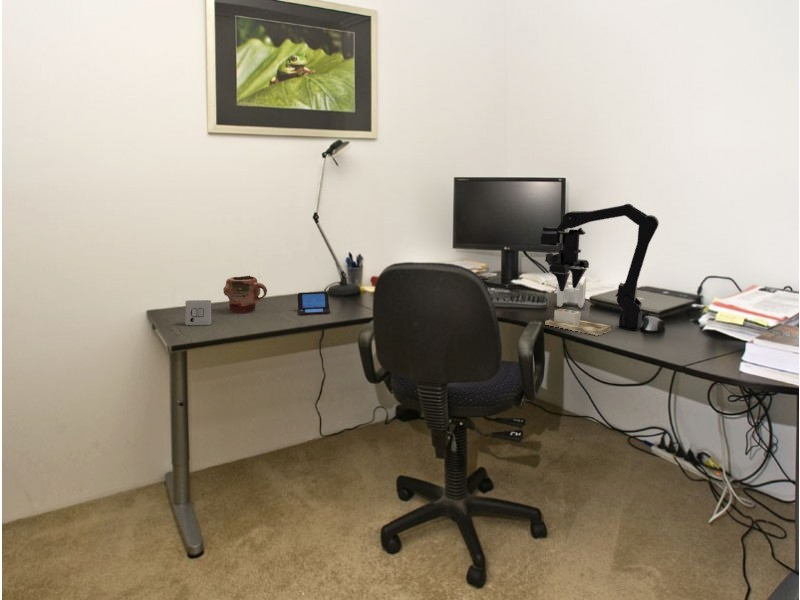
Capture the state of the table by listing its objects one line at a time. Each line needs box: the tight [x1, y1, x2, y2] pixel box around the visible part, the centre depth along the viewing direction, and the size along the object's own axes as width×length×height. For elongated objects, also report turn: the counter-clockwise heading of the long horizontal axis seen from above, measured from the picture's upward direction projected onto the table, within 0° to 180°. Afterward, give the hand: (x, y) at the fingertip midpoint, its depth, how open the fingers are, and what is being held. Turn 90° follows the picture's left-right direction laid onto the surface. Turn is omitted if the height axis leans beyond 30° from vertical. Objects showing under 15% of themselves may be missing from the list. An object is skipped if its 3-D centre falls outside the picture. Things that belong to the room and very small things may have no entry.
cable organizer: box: [556, 276, 587, 309], centre depth 233 cm, size 15×11×12 cm
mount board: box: [544, 317, 613, 337], centre depth 198 cm, size 20×10×2 cm, turn 43°
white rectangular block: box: [553, 307, 582, 326], centre depth 201 cm, size 8×4×5 cm, turn 43°
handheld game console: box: [297, 291, 331, 316], centre depth 226 cm, size 12×11×7 cm
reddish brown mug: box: [222, 275, 268, 314], centre depth 228 cm, size 20×12×14 cm, turn 77°
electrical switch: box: [184, 299, 213, 326], centre depth 209 cm, size 9×5×9 cm, turn 90°
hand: (568, 289), depth 205 cm, fingers open, 9 cm apart
